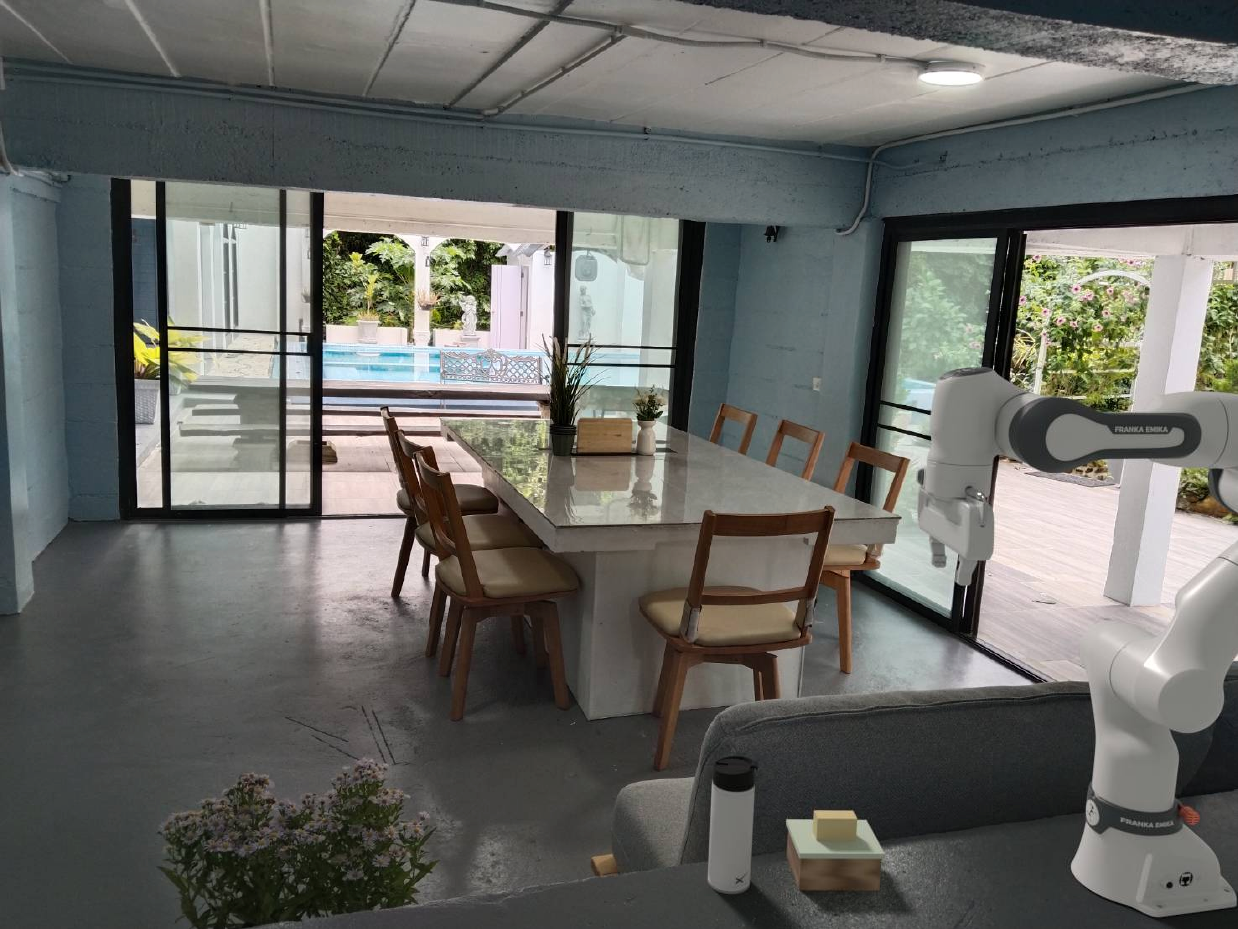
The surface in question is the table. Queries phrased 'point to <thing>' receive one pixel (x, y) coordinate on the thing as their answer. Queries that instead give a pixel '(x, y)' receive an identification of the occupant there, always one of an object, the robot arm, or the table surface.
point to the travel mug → (731, 824)
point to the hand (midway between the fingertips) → (950, 575)
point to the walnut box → (833, 872)
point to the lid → (834, 836)
